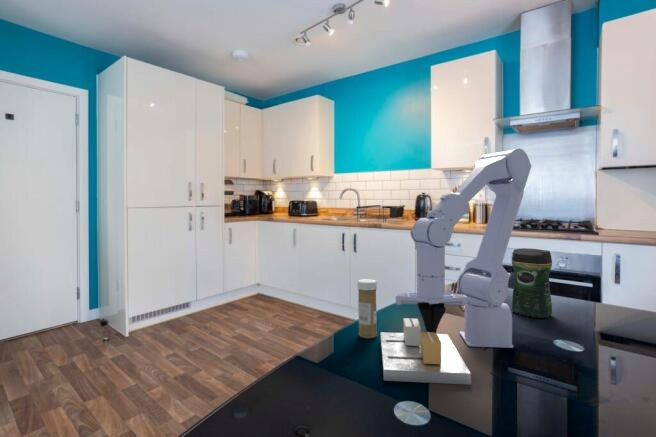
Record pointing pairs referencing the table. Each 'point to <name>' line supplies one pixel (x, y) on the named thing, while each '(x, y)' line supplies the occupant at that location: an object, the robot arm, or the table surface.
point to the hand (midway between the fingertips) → (430, 337)
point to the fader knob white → (412, 331)
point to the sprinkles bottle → (367, 308)
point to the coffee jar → (531, 282)
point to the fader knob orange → (430, 348)
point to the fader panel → (421, 362)
